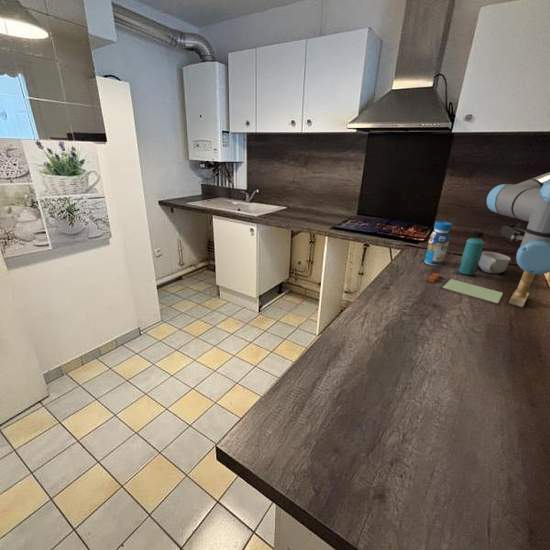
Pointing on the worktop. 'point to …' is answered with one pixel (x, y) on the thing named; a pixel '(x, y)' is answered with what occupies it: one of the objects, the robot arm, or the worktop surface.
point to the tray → (473, 290)
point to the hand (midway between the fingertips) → (546, 231)
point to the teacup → (493, 262)
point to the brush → (522, 290)
